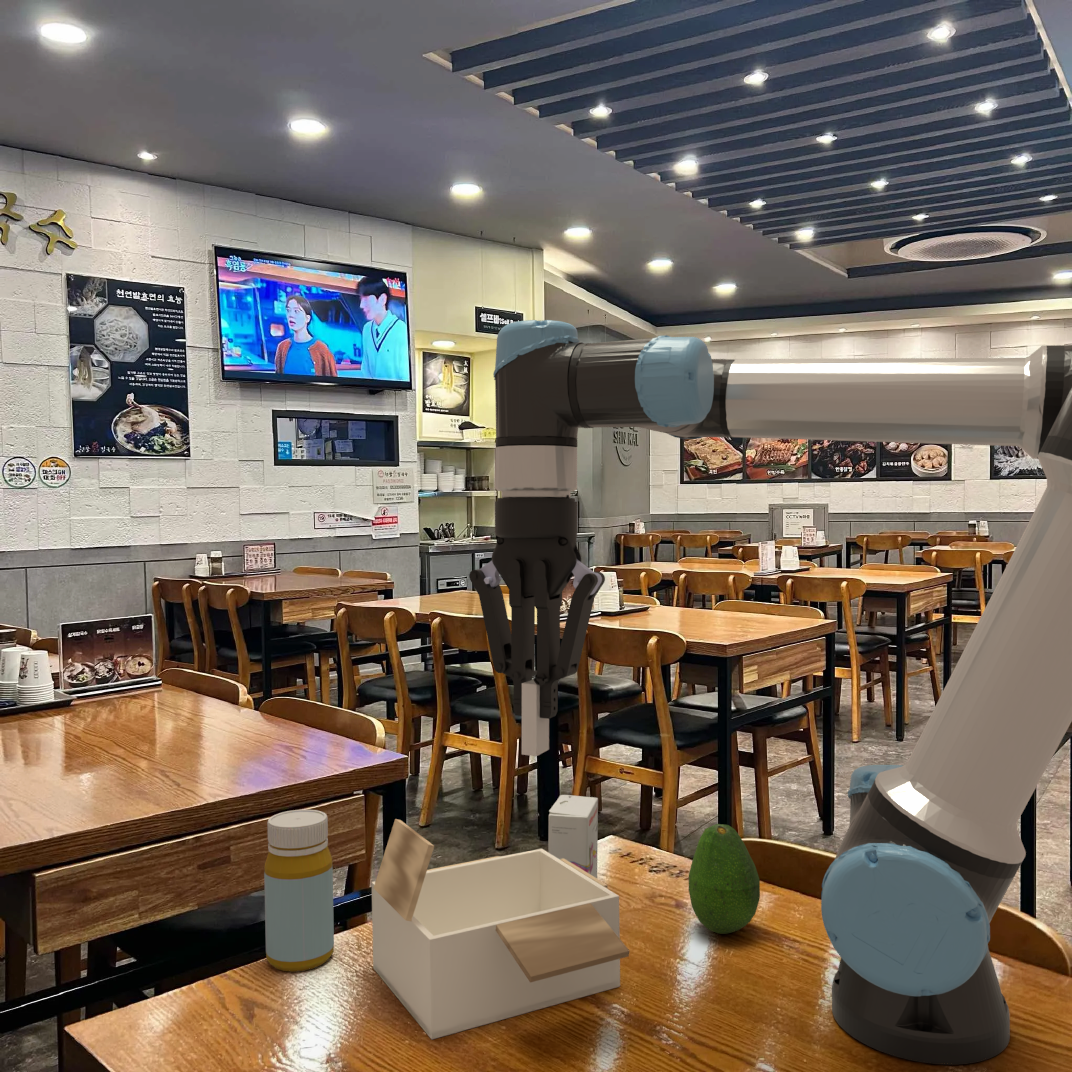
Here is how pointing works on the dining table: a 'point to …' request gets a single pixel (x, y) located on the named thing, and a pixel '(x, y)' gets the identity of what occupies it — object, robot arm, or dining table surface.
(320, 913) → the bottle
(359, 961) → the dining table surface
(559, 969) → the near flap
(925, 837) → the robot arm
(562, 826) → the ink box
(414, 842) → the left flap
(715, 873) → the fruit
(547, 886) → the carton
